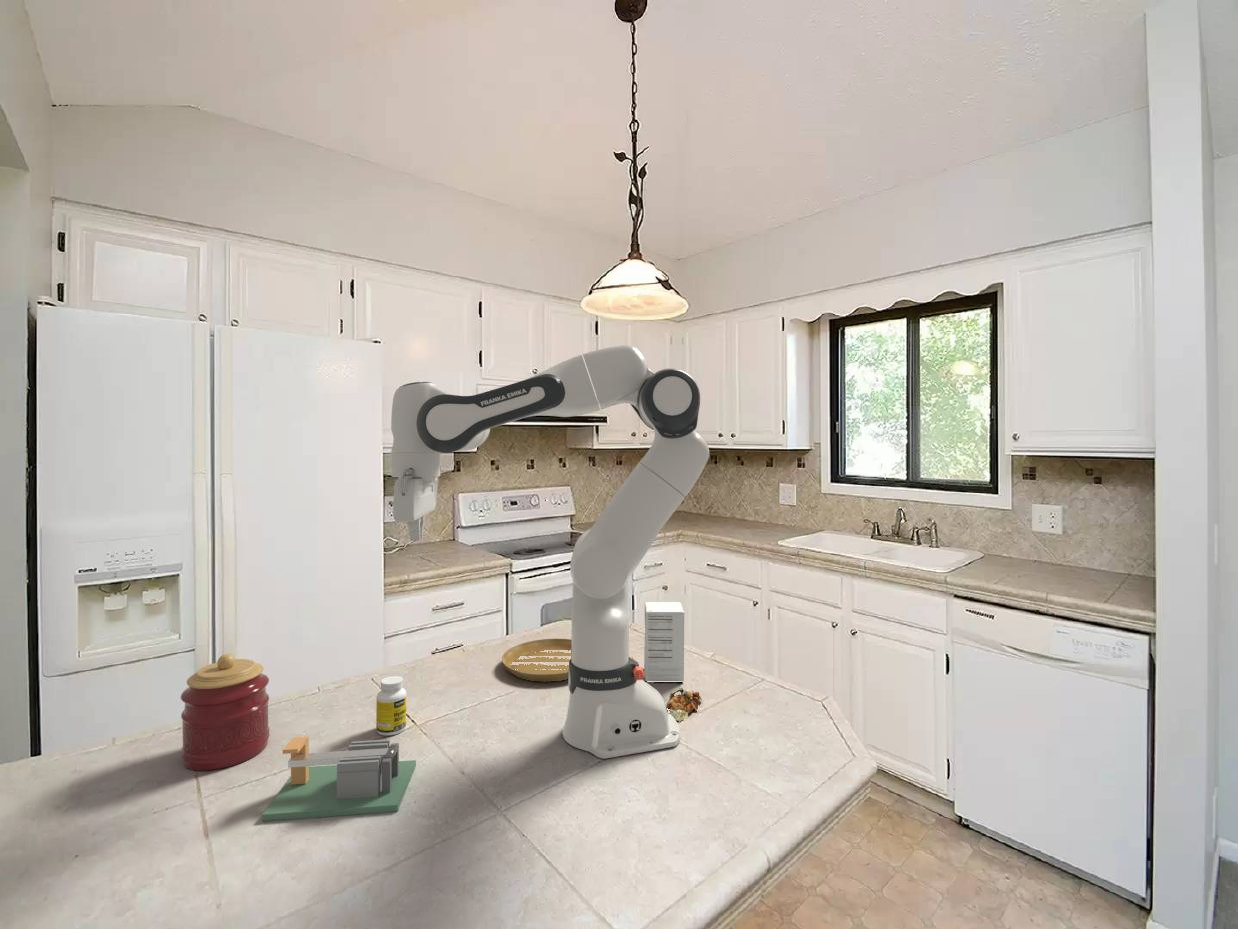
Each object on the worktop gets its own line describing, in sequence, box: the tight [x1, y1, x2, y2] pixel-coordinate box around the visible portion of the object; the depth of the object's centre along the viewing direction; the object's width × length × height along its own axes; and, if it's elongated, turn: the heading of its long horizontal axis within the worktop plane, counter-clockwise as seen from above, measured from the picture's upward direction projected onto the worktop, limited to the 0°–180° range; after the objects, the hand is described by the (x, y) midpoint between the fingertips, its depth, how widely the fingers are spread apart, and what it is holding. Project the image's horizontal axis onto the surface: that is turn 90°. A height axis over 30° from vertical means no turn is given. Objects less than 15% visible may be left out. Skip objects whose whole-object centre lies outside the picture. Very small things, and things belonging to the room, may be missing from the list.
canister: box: [180, 653, 271, 771], centre depth 102 cm, size 13×13×18 cm
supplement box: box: [643, 601, 685, 681], centre depth 138 cm, size 10×9×17 cm
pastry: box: [666, 686, 703, 723], centre depth 120 cm, size 7×12×4 cm, turn 166°
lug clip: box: [282, 736, 310, 785], centre depth 90 cm, size 2×4×7 cm, turn 8°
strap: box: [287, 744, 398, 769], centre depth 90 cm, size 16×3×1 cm, turn 97°
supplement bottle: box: [375, 675, 407, 737], centre depth 110 cm, size 5×5×10 cm
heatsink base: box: [261, 738, 417, 822], centre depth 91 cm, size 19×12×6 cm, turn 97°
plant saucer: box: [501, 638, 571, 683], centre depth 143 cm, size 24×24×3 cm
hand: (416, 539), depth 109 cm, fingers closed
